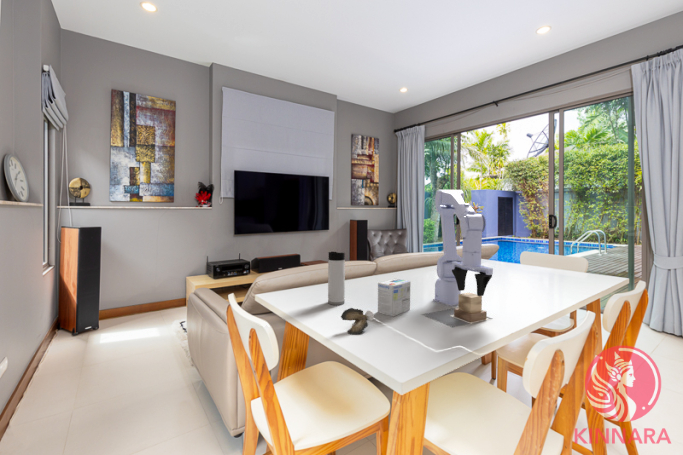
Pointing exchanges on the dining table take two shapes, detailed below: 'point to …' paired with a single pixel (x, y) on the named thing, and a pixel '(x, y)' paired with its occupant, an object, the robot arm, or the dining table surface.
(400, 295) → the light bulb box
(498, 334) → the dining table surface
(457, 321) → the mat
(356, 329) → the eagle figurine
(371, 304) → the dining table surface
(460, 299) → the oak cube
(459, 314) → the walnut slab
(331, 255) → the travel mug
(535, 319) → the dining table surface
